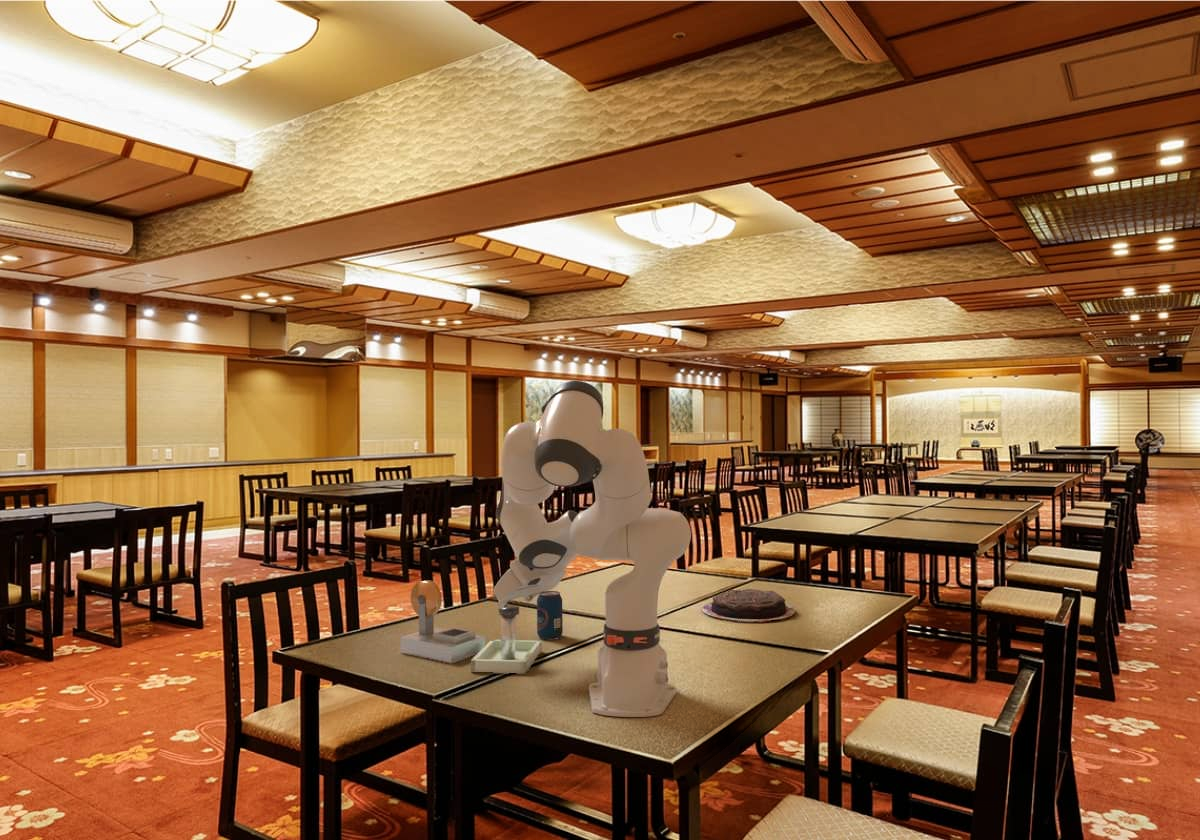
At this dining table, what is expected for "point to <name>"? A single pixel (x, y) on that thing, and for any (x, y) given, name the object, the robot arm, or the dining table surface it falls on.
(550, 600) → the soda can
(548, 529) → the robot arm
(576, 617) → the dining table surface
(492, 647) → the tray
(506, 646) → the dome-capped glass cylinder
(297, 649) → the dining table surface
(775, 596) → the chocolate cake
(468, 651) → the block
